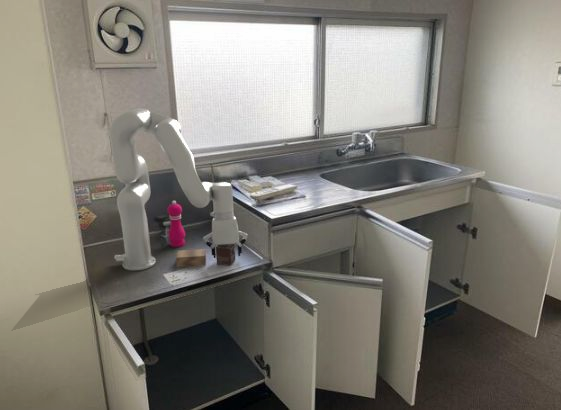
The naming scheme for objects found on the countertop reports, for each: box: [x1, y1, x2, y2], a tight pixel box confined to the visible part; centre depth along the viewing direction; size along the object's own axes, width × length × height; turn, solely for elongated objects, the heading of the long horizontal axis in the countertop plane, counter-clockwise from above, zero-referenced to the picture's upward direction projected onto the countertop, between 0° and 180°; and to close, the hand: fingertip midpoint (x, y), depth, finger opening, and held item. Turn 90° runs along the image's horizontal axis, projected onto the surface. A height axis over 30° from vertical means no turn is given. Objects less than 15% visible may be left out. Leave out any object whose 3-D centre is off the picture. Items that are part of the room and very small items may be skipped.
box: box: [215, 243, 236, 266], centre depth 175 cm, size 6×6×7 cm
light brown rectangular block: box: [175, 248, 207, 268], centre depth 176 cm, size 11×7×4 cm, turn 97°
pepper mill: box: [167, 200, 186, 248], centre depth 192 cm, size 7×7×20 cm
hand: (227, 255), depth 175 cm, fingers open, 9 cm apart
